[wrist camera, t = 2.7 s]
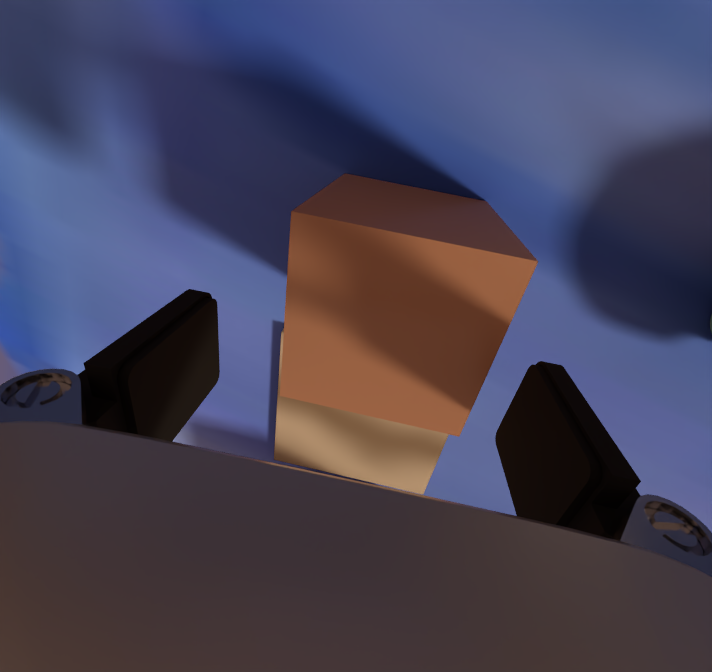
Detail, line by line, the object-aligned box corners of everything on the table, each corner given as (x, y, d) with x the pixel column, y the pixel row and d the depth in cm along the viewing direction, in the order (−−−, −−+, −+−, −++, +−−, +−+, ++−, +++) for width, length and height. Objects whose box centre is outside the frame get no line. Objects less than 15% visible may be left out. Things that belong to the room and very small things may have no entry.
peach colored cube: (344, 173, 16) (291, 211, 9) (486, 201, 16) (537, 261, 9) (327, 300, 19) (279, 395, 13) (444, 324, 19) (459, 436, 12)
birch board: (284, 327, 21) (281, 332, 20) (472, 368, 20) (474, 374, 20) (276, 453, 27) (273, 459, 26) (422, 487, 26) (422, 494, 26)
